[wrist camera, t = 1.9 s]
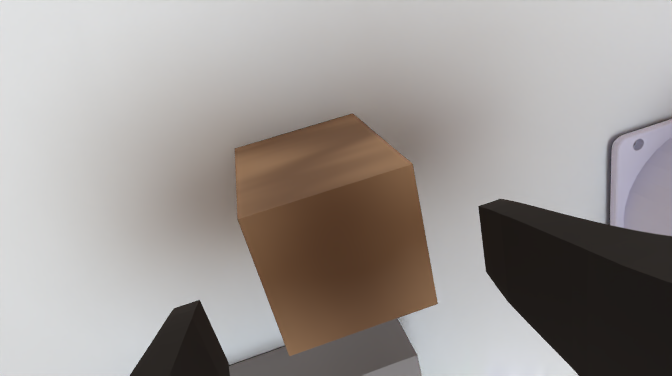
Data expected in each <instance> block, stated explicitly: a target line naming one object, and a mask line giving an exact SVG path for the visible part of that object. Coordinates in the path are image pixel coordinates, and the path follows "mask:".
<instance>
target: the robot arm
mask: <svg viewBox="0 0 672 376" xmlns="http://www.w3.org/2000/svg"><path fill="white" fill-rule="evenodd" d="M635 141H636V143H635ZM634 143H635V145H634ZM633 145H634V146H633ZM479 215H480V223H481V232H482V241H483V249H484V258H485V266H486V272H487V274H488V275H489V276H490V278H491V279H492V281H493V282H494V283H495V285H496V286H497V288H498V289H499V290H500V292H501V293H502V294H503V296H504V297H505V298H506V300H507V301H508V302H509V303H510V304H511V305H512V306H513V307H514V309H515V310H516V311H517V312H518V313H519V314H520V315H521V316H522V317H523V318H524V319H525V320H526V321H527V322H528V323H529V324H530V325H531V326H532V327H533V328H534V329H535V330H536V331H537V332H538V333H539V334H540V335H541V337H542V338H543V339H544V340H545V341H546V342H547V343H548V344H549V345H550V346H551V347H552V348H553V349H554V350H555V351H556V352H557V353H558V354H559V355H560V356H561V357H562V358H563V359H564V360H565V361H566V362H567V363H568V364H569V365H570V366H571V367H572V368H573V369H574V370H575V372H576V373H577V374H578V375H579V376H672V119H670V120H667V121H664V122H661V123H658V124H655V125H652V126H649V127H646V128H642V129H639V130H636V131H633V132H630V133H627V134H624V135H621V136H620V137H618V138H617V139H616V140H615V141H614V143H613V145H612V156H611V200H610V225H607V224H602V223H598V222H594V221H589V220H585V219H581V218H577V217H573V216H569V215H565V214H561V213H557V212H554V211H550V210H546V209H542V208H538V207H534V206H531V205H527V204H523V203H518V202H514V201H509V200H504V199H499V200H496V201H493V202H490V203H487V204H484V205H481V206H479ZM130 376H230V372H229V363H228V361H227V359H226V356H225V354H224V352H223V350H222V348H221V346H220V343H219V341H218V339H217V337H216V335H215V333H214V330H213V328H212V326H211V324H210V322H209V319H208V317H207V315H206V313H205V311H204V309H203V306H202V304H201V302H200V300H198V301H195V302H192V303H189V304H186V305H183V306H180V307H177V308H174V309H173V311H172V312H171V313H170V315H169V316H168V318H167V319H166V321H165V322H164V324H163V326H162V327H161V329H160V330H159V332H158V333H157V335H156V336H155V338H154V340H153V341H152V343H151V344H150V346H149V347H148V349H147V350H146V352H145V353H144V355H143V356H142V358H141V359H140V361H139V362H138V364H137V365H136V367H135V368H134V370H133V371H132V373H131V374H130Z"/></svg>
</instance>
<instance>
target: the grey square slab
mask: <svg viewBox="0 0 672 376" xmlns="http://www.w3.org/2000/svg"><path fill="white" fill-rule="evenodd" d="M229 372H230V376H422V375H421V371H420V366H419V361H418V357H417V354H416V352H415V350H414V348H413V347H412V345H411V343H410V341H409V339H408V337H407V336H406V334H405V332H404V330H403V328H402V326H401V324H400V323H399V321H398V319H397V318H396V319H393V320H390V321H388V322H385V323H382V324H379V325H376V326H374V327H371V328H368V329H365V330H362V331H359V332H357V333H354V334H351V335H348V336H345V337H343V338H340V339H337V340H334V341H331V342H328V343H326V344H323V345H320V346H317V347H314V348H312V349H309V350H306V351H303V352H300V353H297V354H295V355H292V356H289V354H288V351H287V349H286V346H284V347H281V348H279V349H276V350H273V351H270V352H267V353H264V354H262V355H259V356H256V357H253V358H250V359H247V360H245V361H242V362H239V363H236V364H233V365H230V366H229Z"/></svg>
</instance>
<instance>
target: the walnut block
mask: <svg viewBox="0 0 672 376" xmlns="http://www.w3.org/2000/svg"><path fill="white" fill-rule="evenodd" d="M235 168H236V192H237V217H238V222H239V224H240V227H241V230H242V232H243V235H244V238H245V240H246V243H247V245H248V248H249V251H250V253H251V256H252V259H253V261H254V264H255V267H256V269H257V272H258V275H259V277H260V280H261V282H262V285H263V288H264V290H265V293H266V296H267V298H268V301H269V304H270V306H271V309H272V312H273V314H274V317H275V319H276V322H277V325H278V327H279V330H280V333H281V335H282V338H283V341H284V343H285V346H286V349H287V351H288V354H289V356H292V355H295V354H297V353H300V352H303V351H306V350H309V349H312V348H314V347H317V346H320V345H323V344H326V343H328V342H331V341H334V340H337V339H340V338H343V337H345V336H348V335H351V334H354V333H357V332H359V331H362V330H365V329H368V328H371V327H374V326H376V325H379V324H382V323H385V322H388V321H390V320H393V319H396V318H399V317H402V316H405V315H407V314H410V313H413V312H416V311H419V310H421V309H424V308H427V307H430V306H433V305H436V304H438V303H437V297H436V292H435V286H434V280H433V275H432V269H431V264H430V258H429V253H428V247H427V241H426V236H425V230H424V225H423V219H422V214H421V208H420V202H419V197H418V191H417V186H416V180H415V175H414V169H413V164H412V163H411V162H410V161H408V160H407V159H406V158H405V157H404V156H403V155H401V154H400V153H399V152H398V151H397V150H395V149H394V148H393V147H392V146H391V145H389V144H388V143H387V142H386V141H385V140H383V139H382V138H381V137H380V136H379V135H378V134H376V133H375V132H374V131H373V130H372V129H370V128H369V127H368V126H367V125H366V124H364V123H363V122H362V121H361V120H360V119H359V118H357V117H356V116H355V115H354V114H349V115H346V116H343V117H339V118H336V119H333V120H329V121H326V122H323V123H319V124H316V125H312V126H309V127H306V128H302V129H299V130H296V131H292V132H289V133H286V134H282V135H279V136H276V137H272V138H269V139H266V140H262V141H259V142H255V143H252V144H249V145H245V146H242V147H239V148H235Z"/></svg>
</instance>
